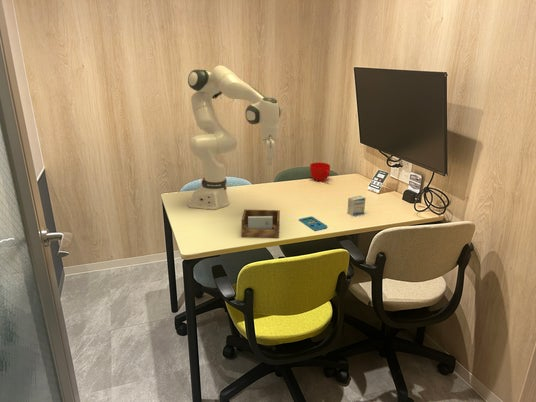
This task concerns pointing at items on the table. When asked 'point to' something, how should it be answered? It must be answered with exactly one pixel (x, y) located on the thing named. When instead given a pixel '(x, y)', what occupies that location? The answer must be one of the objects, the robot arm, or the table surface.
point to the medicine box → (356, 205)
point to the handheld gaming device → (313, 223)
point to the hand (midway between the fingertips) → (269, 162)
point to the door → (260, 222)
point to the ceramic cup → (319, 171)
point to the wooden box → (258, 232)
